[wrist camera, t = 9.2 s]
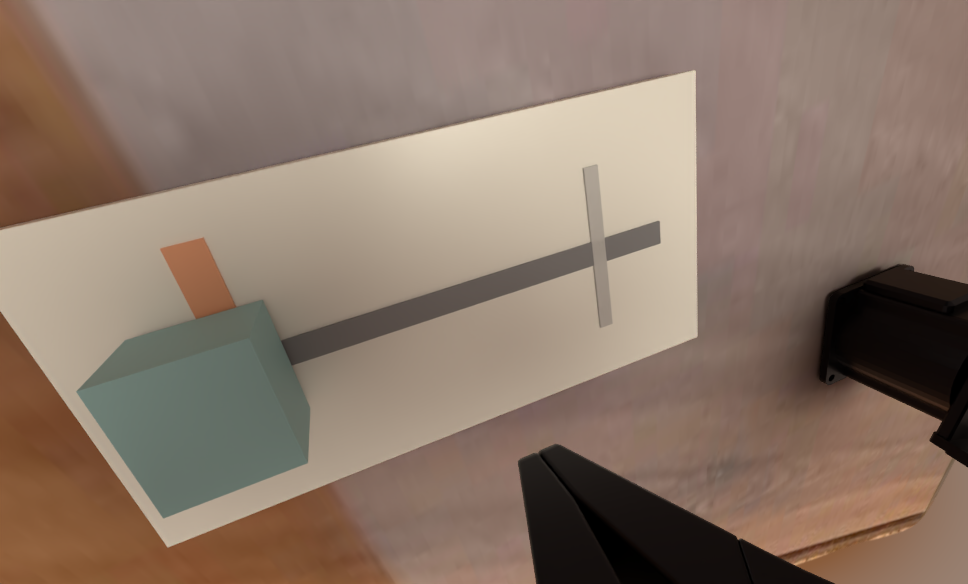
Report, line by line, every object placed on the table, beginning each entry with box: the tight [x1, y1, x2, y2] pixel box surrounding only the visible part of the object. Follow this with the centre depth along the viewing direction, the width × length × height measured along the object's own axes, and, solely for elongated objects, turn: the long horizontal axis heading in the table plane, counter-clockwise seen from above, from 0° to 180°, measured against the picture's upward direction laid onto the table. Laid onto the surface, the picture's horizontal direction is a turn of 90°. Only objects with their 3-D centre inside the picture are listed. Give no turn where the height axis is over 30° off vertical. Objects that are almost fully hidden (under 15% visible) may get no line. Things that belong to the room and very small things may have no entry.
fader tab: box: [76, 300, 310, 519], centre depth 13 cm, size 4×4×3 cm
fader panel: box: [0, 70, 698, 547], centre depth 17 cm, size 12×24×2 cm, turn 102°
